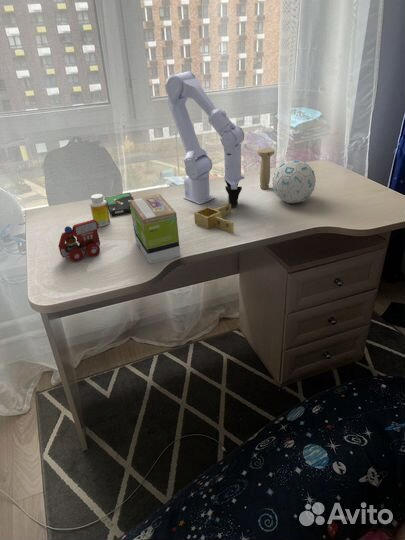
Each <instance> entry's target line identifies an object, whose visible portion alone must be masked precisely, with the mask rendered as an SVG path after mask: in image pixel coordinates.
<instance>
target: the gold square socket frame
mask: <svg viewBox="0 0 405 540" xmlns="http://www.w3.org/2000/svg"><path fill="white" fill-rule="evenodd" d="M231 213H232V208H231V203H226V204H224V205H222V206H219V207H217V208H212V207H210V206H206V207H204V208H202V209H200V210H198V211H195V212H194V213H193V216H194V217H193V219H194V224H195V225H197V226H200V227H202V228H204V229H207V230H210V229H211V228H213V227H215V228H218V229H220V230H223V231H225V232H227V233H230V234H234V229H235V228H234V223H235V222H233V221H230V220H228V219H225V218H223V217H226V216H228V215H229V214H231Z"/></svg>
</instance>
